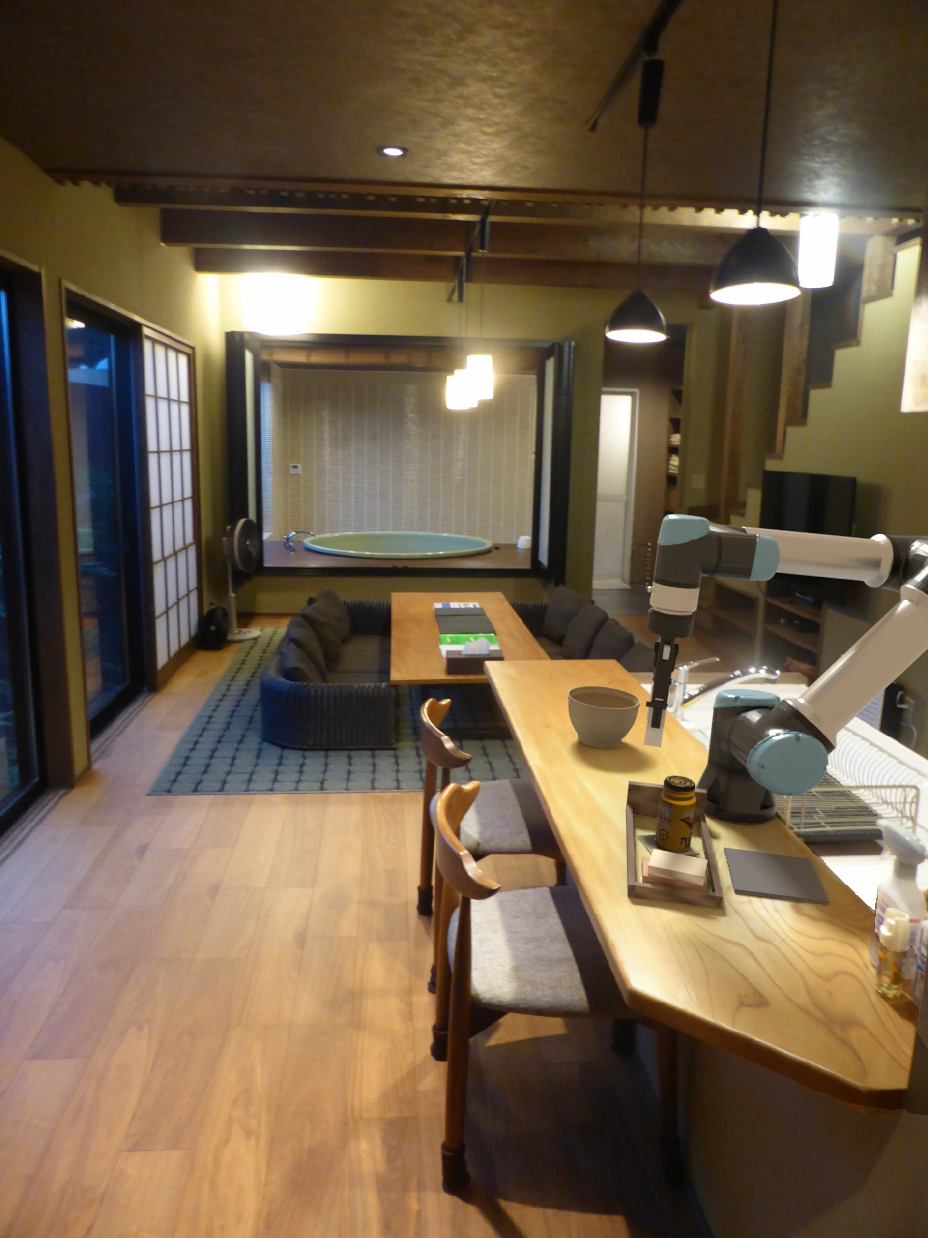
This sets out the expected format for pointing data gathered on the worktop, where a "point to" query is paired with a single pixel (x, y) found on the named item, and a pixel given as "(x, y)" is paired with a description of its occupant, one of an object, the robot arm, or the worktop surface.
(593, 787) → the worktop surface
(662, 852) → the offcut stack
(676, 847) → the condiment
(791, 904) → the worktop surface
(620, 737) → the planter bowl
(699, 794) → the tray
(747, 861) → the slate mat
